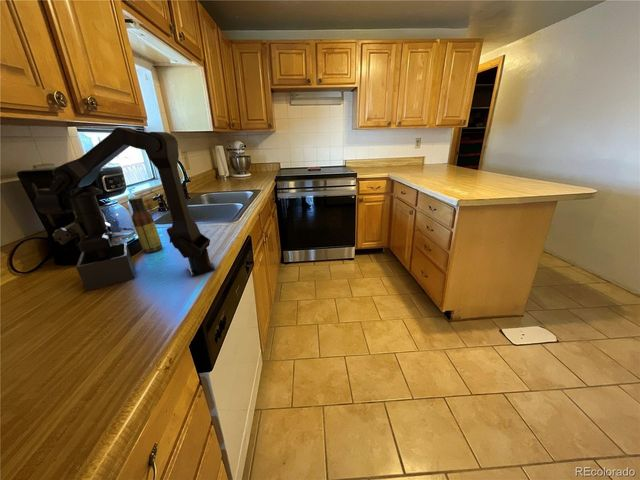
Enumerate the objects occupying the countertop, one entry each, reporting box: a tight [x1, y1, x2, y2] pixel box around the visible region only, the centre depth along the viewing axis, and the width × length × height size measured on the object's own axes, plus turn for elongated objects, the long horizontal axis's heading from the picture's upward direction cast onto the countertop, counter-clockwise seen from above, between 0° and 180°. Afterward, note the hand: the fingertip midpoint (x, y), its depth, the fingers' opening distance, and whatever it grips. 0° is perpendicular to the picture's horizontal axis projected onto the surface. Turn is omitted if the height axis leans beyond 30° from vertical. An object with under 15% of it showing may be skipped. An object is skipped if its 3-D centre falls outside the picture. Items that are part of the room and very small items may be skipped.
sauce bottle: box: [127, 196, 163, 253], centre depth 95 cm, size 7×6×20 cm
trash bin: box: [75, 242, 135, 292], centre depth 79 cm, size 13×11×8 cm
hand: (106, 262), depth 79 cm, fingers open, 8 cm apart
